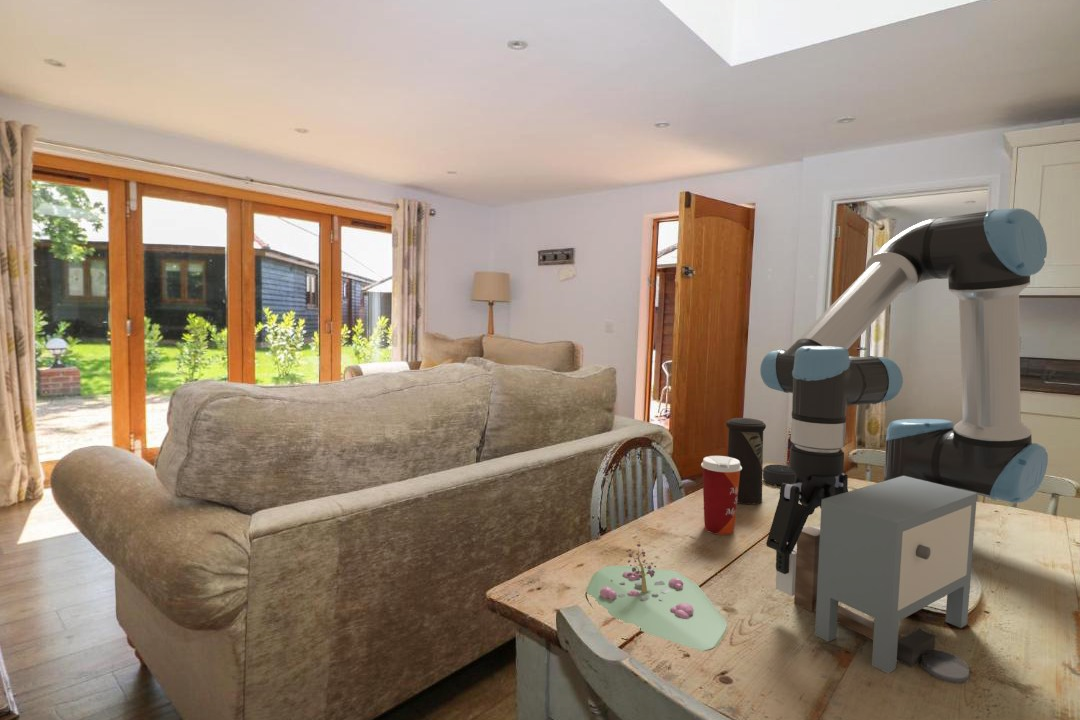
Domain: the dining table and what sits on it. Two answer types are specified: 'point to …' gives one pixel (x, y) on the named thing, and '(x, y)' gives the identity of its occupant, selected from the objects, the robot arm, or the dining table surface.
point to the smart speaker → (778, 474)
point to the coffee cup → (720, 493)
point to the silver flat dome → (945, 666)
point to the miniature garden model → (659, 603)
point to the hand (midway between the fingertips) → (810, 581)
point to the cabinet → (894, 557)
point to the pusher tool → (807, 598)
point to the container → (747, 456)
